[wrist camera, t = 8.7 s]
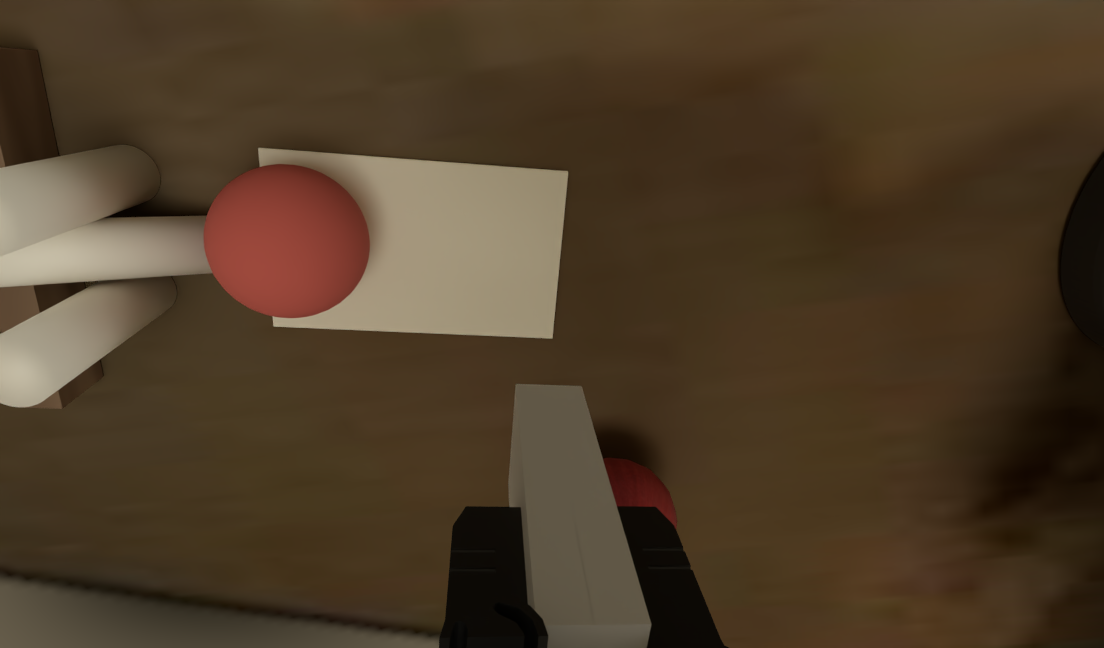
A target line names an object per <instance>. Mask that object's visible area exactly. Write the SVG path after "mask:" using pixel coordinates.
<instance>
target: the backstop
mask: <svg viewBox="0 0 1104 648" xmlns="http://www.w3.org/2000/svg"><path fill="white" fill-rule="evenodd" d="M58 156H59V155H58V150H57V145H56V140H55V136H54V131H53V126H52V121H51V116H50V111H49V106H48V101H47V96H46V91H45V86H44V81H43V76H42V72H41V67H40V62H39V57H38V52H37V50H27V49H16V48H5V47H0V168H2V167H8V166H13V165H18V164H23V163H28V162H33V161H38V160H43V159H48V158H53V157H58ZM84 289H86V288H85V283H84V282H73V283H58V284H43V285H28V286H13V287H0V330H1V333H3V332H5V331H7V330H9V329H11V328H13V327H15V326H16V325H18V324H20V323H22V322H24V321H26V320H28V319H30V318H31V317H33V316H35V315H37V314H39V313H41V312H43V311H45V310H46V309H48V308H50V307H52V306H54V305H56V304H58V303H60V302H61V301H63V300H65V299H67V298H69V297H71V296H73V295H75V294H76V293H78V292H80V291H82V290H84ZM102 377H103V372H102V367H101V362H100V360H98V361H97V362H96V363H94V364H93V365H92V366H90V367H89V368H88V369H86V370H85V371H83V372H82V373H81V374H79V375H78V376H77V377H75V378H74V379H73V380H71V381H70V382H68V383H67V384H66V385H64V386H63V387H62V388H60V389H59V390H58V391H56V392H55V393H54V394H52V395H51V396H49V397H48V398H47V399H45V400H44V401H43V402H41V403H39V404H37V405H34V406H30V407H21V408H56V409H63V408H64V407H65V406H66V405H68V404H69V403H70V402H72V401H73V400H74V399H75V398H77V397H78V396H79V395H80V394H82V393H83V392H84V391H86V390H87V389H88V388H89V387H91V386H92V385H93V384H94V383H96V382H97V381H98V380H100V379H101V378H102Z"/></svg>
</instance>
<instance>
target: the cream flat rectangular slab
mask: <svg viewBox="0 0 1104 648" xmlns="http://www.w3.org/2000/svg"><path fill="white" fill-rule="evenodd" d="M258 152H259V164H260V167H262V166H267V165H274V164H290V165H298V166H303V167H307V168H310V169H313V170H316V171H318V172H321V173H323V174H325V175H326V176H328V177H330V178H332V179H333V180H335V181H336V182H337V183H339V184H340V185H341V186H342V187H343V188H344V189H345V190H347V191H348V193H349V194H350V195H351V196H352V197H353V199H354V200H355V201H356V203H357V204H358V206H359V207H360V209H361V211H362V213H363V216H364V218H365V221H366V223H367V227H368V231H369V238H370V252H369V259H368V263H367V266H366V269H365V272H364V274H363V276H362V279H361V280H360V282H359V283H358V285H357V286H356V288H355V289H354V290H353V291H352V293H351V294H350V295H349V296H347V297H346V298H345V299H344V300H343V301H342V302H341V303H339V304H337V305H336V306H334V307H332V308H331V309H329V310H327V311H324V312H322V313H319V314H316V315H313V316H308V317H302V318H280V317H274V316H273V326H275V327H298V328H321V329H344V330H367V331H390V332H413V333H436V334H460V335H483V336H506V337H529V338H553V327H554V317H555V306H556V296H557V285H558V275H559V264H560V254H561V243H562V233H563V222H564V212H565V201H566V191H567V180H568V171H561V170H548V169H535V168H522V167H508V166H495V165H482V164H469V163H456V162H443V161H430V160H417V159H404V158H391V157H378V156H365V155H351V154H338V153H325V152H312V151H299V150H286V149H273V148H258Z"/></svg>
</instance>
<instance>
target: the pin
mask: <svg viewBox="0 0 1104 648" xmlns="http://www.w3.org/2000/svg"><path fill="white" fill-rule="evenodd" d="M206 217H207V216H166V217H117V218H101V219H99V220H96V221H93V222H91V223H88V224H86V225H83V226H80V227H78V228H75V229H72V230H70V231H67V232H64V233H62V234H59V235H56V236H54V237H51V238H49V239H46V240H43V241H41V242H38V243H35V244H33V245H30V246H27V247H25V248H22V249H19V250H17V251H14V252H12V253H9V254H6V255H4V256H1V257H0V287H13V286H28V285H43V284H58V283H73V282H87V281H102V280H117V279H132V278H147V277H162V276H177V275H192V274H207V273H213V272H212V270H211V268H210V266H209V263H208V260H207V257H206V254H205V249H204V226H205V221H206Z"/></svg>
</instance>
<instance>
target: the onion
mask: <svg viewBox="0 0 1104 648" xmlns="http://www.w3.org/2000/svg"><path fill="white" fill-rule="evenodd" d="M603 461H604V465H605V468H606V471H607V475H608V478H609V482H610V485H611V488H612V492H613V495H614V499H615V502H616V505H617V506H643V507H657V508H658V509H659V510H660V511H661V512H662V514H663V515H664V516H665V517H666V518H667V519H668V520H669V521H670V522H671V523H672V524H673V525H674V526H675V529H676V526H677V518H676V512H675V508H674V505H673V502H672V499H671V496H670V493H669V491H668V490H667V488H666V487H665V485H664V484H663V483H662V482H661V481H660V479H659V478H658V477H657V476H656V475H655V474H654V473H653V472H652V471H651V470H650V469H648V468H646V467H644V466H642V465H639V464H637V463H635V462H633V461H631V460H627V459H618V458H604V459H603Z"/></svg>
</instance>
